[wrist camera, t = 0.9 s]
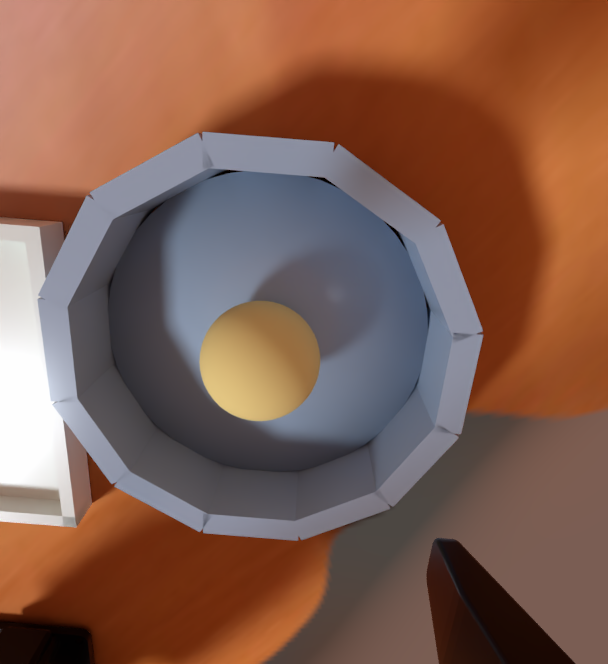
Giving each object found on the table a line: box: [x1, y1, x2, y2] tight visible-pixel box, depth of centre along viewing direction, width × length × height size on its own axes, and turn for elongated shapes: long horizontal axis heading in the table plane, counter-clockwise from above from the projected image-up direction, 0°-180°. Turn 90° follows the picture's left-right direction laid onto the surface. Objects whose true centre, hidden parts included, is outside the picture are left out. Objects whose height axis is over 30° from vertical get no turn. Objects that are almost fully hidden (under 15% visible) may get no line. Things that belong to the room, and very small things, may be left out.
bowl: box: [37, 132, 483, 541], centre depth 18 cm, size 15×15×4 cm
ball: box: [199, 301, 320, 421], centre depth 17 cm, size 4×4×4 cm
